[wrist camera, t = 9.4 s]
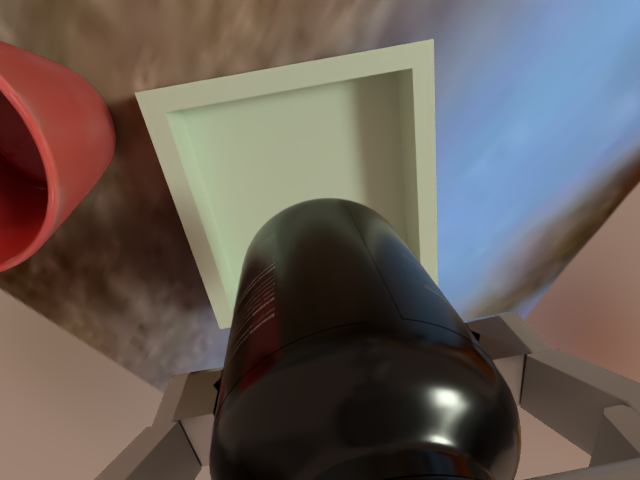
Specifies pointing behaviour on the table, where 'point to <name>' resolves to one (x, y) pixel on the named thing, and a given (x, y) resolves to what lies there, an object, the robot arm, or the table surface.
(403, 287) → the supplement bottle
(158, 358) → the table surface
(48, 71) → the flower pot
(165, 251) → the table surface
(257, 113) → the tray
